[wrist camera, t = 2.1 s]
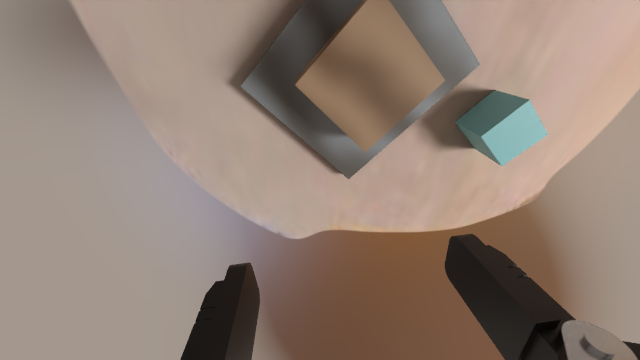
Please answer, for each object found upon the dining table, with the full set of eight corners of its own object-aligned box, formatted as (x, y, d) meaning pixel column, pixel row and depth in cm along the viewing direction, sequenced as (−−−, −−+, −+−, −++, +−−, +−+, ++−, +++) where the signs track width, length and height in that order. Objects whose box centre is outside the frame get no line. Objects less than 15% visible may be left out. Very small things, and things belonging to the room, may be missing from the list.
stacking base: (375, -91, 19) (401, -138, 14) (471, 62, 25) (513, 69, 20) (243, 83, 25) (227, 96, 20) (346, 173, 31) (354, 200, 26)
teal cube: (493, 89, 27) (529, 99, 23) (512, 119, 29) (548, 134, 25) (454, 121, 29) (480, 136, 24) (474, 148, 31) (501, 166, 26)
